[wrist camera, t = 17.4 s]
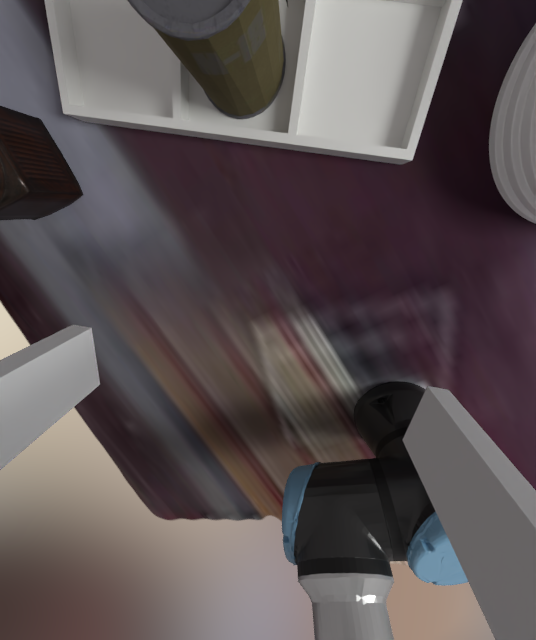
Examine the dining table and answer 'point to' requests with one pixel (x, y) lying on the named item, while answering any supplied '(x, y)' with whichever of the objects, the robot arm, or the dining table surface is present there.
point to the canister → (224, 48)
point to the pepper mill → (32, 169)
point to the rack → (298, 84)
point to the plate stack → (516, 132)
